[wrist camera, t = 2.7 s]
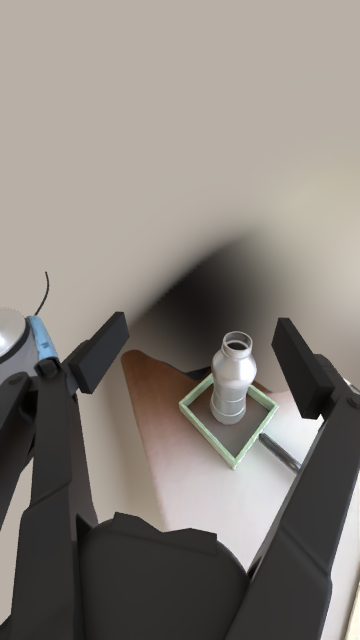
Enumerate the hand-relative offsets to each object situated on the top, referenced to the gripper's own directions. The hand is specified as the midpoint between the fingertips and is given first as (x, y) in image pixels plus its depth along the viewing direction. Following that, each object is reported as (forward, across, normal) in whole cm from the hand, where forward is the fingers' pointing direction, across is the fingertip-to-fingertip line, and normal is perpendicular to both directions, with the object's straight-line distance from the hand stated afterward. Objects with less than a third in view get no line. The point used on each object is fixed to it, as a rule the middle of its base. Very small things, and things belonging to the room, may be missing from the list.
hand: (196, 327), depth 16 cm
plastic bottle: (+10, +5, -26) cm, 28 cm away
